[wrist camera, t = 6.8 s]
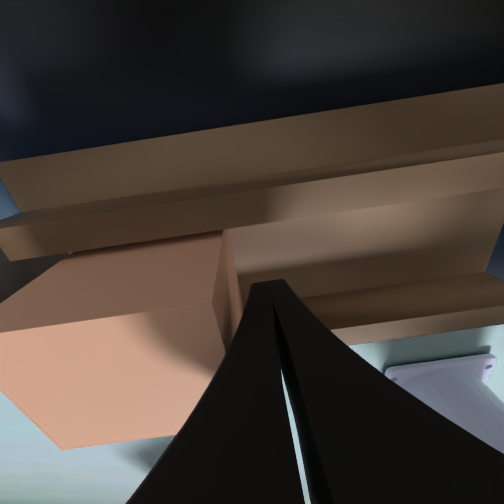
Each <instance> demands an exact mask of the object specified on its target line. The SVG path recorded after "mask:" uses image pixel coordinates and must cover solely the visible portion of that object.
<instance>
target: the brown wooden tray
mask: <svg viewBox="0 0 504 504" xmlns="http://www.w3.org/2000/svg"><path fill="white" fill-rule="evenodd" d="M0 178H1V180H2V181H3V183H4V185H5V186H6V188H7V190H8V191H9V193H10V195H11V196H12V198H13V199H14V201H15V203H16V204H17V206H18V208H19V209H20V211H21V213H19V214H16V215H13V216H10V217H7V218H5V219H2V220H0V303H2V302H3V301H5V300H6V299H7V298H9V297H10V296H12V295H13V294H14V293H16V292H17V291H19V290H20V289H21V288H23V287H24V286H26V285H27V284H28V283H30V282H31V281H33V280H34V279H36V278H37V277H38V276H40V275H41V274H43V273H44V272H45V271H47V270H48V269H50V268H51V267H52V266H54V265H55V264H57V263H58V262H59V261H61V260H62V259H64V258H65V257H66V256H68V255H69V254H71V253H72V252H76V251H83V250H89V249H96V248H103V247H110V246H116V245H123V244H130V243H136V242H143V241H150V240H157V239H163V238H170V237H177V236H183V235H190V234H197V233H203V232H210V231H217V230H224V229H228V232H229V237H230V242H231V247H232V252H233V257H234V262H235V267H236V272H237V277H238V282H239V287H240V292H241V297H242V302H243V312H244V309H245V306H246V303H247V299H248V296H249V291H250V286H251V285H252V283H256V282H263V281H270V280H277V279H284V280H285V281H287V283H288V284H289V286H290V287H291V289H292V290H293V291H294V292H295V294H296V295H297V296H298V297H299V298H300V300H301V301H302V302H303V303H304V304H305V305H306V306H307V307H308V308H309V309H310V311H311V312H312V313H313V314H314V315H315V316H316V317H317V318H318V319H319V320H320V321H321V322H322V323H323V324H324V325H325V326H326V327H327V328H328V329H329V330H331V331H332V332H333V333H334V334H335V335H336V336H337V337H338V338H339V339H340V340H342V341H343V342H344V343H345V344H346V345H347V346H349V345H356V344H364V343H371V342H378V341H385V340H392V339H400V338H407V337H414V336H421V335H429V334H436V333H443V332H450V331H457V330H465V329H472V328H479V327H486V326H493V325H501V324H504V282H503V281H501V280H499V279H497V278H496V277H494V276H492V275H490V274H488V273H487V272H485V271H486V269H487V266H488V263H489V261H490V258H491V255H492V253H493V250H494V247H495V245H496V242H497V240H498V237H499V234H500V232H501V229H502V226H503V224H504V83H502V84H495V85H489V86H482V87H476V88H470V89H463V90H457V91H451V92H444V93H438V94H432V95H425V96H419V97H412V98H406V99H400V100H393V101H387V102H381V103H374V104H368V105H361V106H355V107H349V108H342V109H336V110H330V111H323V112H317V113H311V114H304V115H298V116H291V117H285V118H279V119H272V120H266V121H260V122H253V123H247V124H241V125H234V126H228V127H221V128H215V129H209V130H202V131H196V132H190V133H183V134H177V135H170V136H164V137H158V138H151V139H145V140H139V141H132V142H126V143H120V144H113V145H107V146H100V147H94V148H88V149H81V150H75V151H69V152H62V153H56V154H50V155H43V156H37V157H30V158H24V159H18V160H11V161H5V162H0Z"/></svg>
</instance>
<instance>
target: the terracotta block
mask: <svg viewBox="0 0 504 504" xmlns="http://www.w3.org/2000/svg"><path fill="white" fill-rule="evenodd" d="M242 315H243V302H242V297H241V292H240V287H239V282H238V277H237V272H236V267H235V262H234V257H233V252H232V247H231V242H230V237H229V232H228V229H224V230H217V231H210V232H203V233H197V234H190V235H183V236H177V237H170V238H163V239H157V240H150V241H143V242H136V243H130V244H123V245H116V246H110V247H103V248H96V249H89V250H83V251H76V252H72V253H71V254H69V255H68V256H66V257H65V258H64V259H62V260H61V261H59V262H58V263H57V264H55V265H54V266H52V267H51V268H50V269H48V270H47V271H45V272H44V273H43V274H41V275H40V276H38V277H37V278H36V279H34V280H33V281H31V282H30V283H28V284H27V285H26V286H24V287H23V288H21V289H20V290H19V291H17V292H16V293H14V294H13V295H12V296H10V297H9V298H7V299H6V300H5V301H3V302H2V303H0V391H1V392H2V393H3V394H4V395H5V396H6V397H7V398H8V399H9V400H10V401H12V402H13V403H14V404H15V405H16V406H17V407H18V408H19V409H20V410H21V411H22V412H23V413H24V414H25V415H26V416H27V417H28V418H29V419H30V420H31V421H32V422H33V423H34V424H35V425H36V426H37V427H38V428H39V429H40V430H41V431H42V432H43V433H44V434H45V435H47V436H48V437H49V438H50V439H51V440H52V441H53V442H54V443H55V444H56V445H57V446H58V447H59V448H60V449H61V450H67V449H74V448H82V447H89V446H96V445H104V444H111V443H119V442H126V441H134V440H141V439H149V438H156V437H164V436H171V435H177V433H178V432H179V430H180V429H181V427H182V426H183V425H184V423H185V422H186V420H187V419H188V417H189V415H190V414H191V412H192V411H193V409H194V408H195V406H196V405H197V403H198V401H199V400H200V398H201V396H202V395H203V393H204V392H205V390H206V388H207V387H208V385H209V383H210V382H211V380H212V378H213V376H214V375H215V373H216V371H217V369H218V367H219V366H220V364H221V362H222V360H223V358H224V356H225V354H226V352H227V350H228V348H229V346H230V343H231V341H232V339H233V337H234V335H235V332H236V330H237V328H238V325H239V323H240V320H241V317H242Z"/></svg>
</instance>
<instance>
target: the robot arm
mask: <svg viewBox="0 0 504 504" xmlns="http://www.w3.org/2000/svg"><path fill="white" fill-rule="evenodd" d="M496 362H497V358H496V357H495V356H494V355H493V354H481V355H474V356H466V357H459V358H452V359H444V360H437V361H430V362H422V363H415V364H408V365H401V366H393V367H389V368H388V369H387V370H386V371H385V375H384V374H382V373H381V372H380V371H379V370H377V369H376V368H375V367H373V366H372V365H371V364H369V363H368V362H367V361H366V360H364V359H363V358H362V357H361V356H359V355H358V354H357V353H356V352H354V351H353V350H352V349H351V348H350V347H348V346H347V345H346V344H345V343H344V342H343V341H342V340H340V339H339V338H338V337H337V336H336V335H335V334H334V333H333V332H332V331H331V330H329V329H328V328H327V327H326V326H325V325H324V324H323V323H322V322H321V321H320V320H319V319H318V318H317V317H316V316H315V315H314V314H313V313H312V312H311V311H310V309H309V308H308V307H307V306H306V305H305V304H304V303H303V302H302V301H301V300H300V298H299V297H298V296H297V295H296V294H295V292H294V291H293V290H292V289H291V287H290V286H289V284H288V283H287V281H285V280H284V279H277V280H270V281H263V282H256V283H252V285H251V286H250V291H249V296H248V299H247V303H246V306H245V309H244V312H243V315H242V317H241V320H240V323H239V325H238V328H237V330H236V332H235V335H234V337H233V339H232V341H231V343H230V346H229V348H228V350H227V352H226V354H225V356H224V358H223V360H222V362H221V364H220V366H219V367H218V369H217V371H216V373H215V375H214V376H213V378H212V380H211V382H210V383H209V385H208V387H207V388H206V390H205V392H204V393H203V395H202V396H201V398H200V400H199V401H198V403H197V405H196V406H195V408H194V409H193V411H192V412H191V414H190V415H189V417H188V419H187V420H186V422H185V423H184V425H183V426H182V427H181V429H180V430H179V432H178V433H177V435H176V436H175V437H174V439H173V440H172V442H171V443H170V444H169V446H168V447H167V449H166V450H165V451H164V453H163V454H162V456H161V457H160V458H159V460H158V461H157V463H156V464H155V465H154V467H153V468H152V470H151V471H150V472H149V474H148V475H147V476H146V478H145V479H144V480H143V482H142V483H141V484H140V486H139V487H138V488H137V490H136V491H135V492H134V494H133V495H132V496H131V497H130V499H129V500H128V501H127V502H126V504H305V501H304V495H303V490H302V485H301V480H300V475H299V469H298V464H297V459H296V454H295V448H294V443H293V438H292V432H291V427H290V422H289V417H288V411H287V406H286V400H285V395H284V390H283V384H282V374H283V377H284V381H285V385H286V389H287V392H288V396H289V400H290V404H291V407H292V411H293V415H294V419H295V423H296V428H297V432H298V438H299V443H300V448H301V454H302V459H303V464H304V470H305V475H306V480H307V486H308V491H309V497H310V502H311V504H504V403H503V402H502V401H501V400H500V399H499V398H498V397H497V396H496V395H495V394H494V393H493V392H492V391H491V390H490V389H489V388H488V387H487V386H486V385H485V384H486V382H487V380H488V378H489V376H490V374H491V372H492V370H493V368H494V366H495V364H496ZM281 370H282V374H281Z"/></svg>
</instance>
